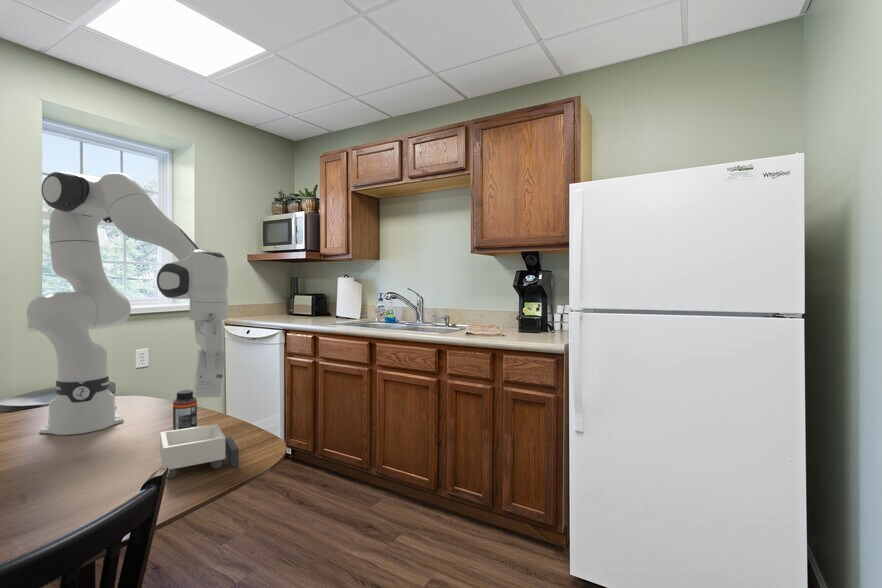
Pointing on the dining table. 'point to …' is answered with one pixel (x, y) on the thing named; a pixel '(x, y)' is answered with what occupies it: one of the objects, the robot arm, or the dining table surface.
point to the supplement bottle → (184, 410)
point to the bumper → (231, 451)
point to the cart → (192, 447)
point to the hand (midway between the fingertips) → (208, 365)
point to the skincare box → (208, 376)
